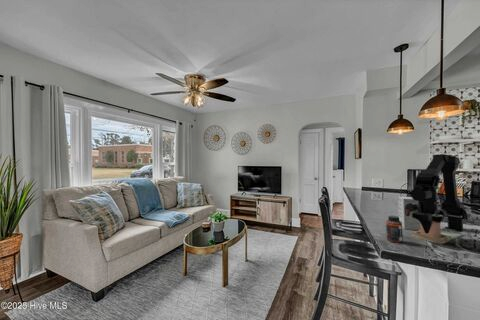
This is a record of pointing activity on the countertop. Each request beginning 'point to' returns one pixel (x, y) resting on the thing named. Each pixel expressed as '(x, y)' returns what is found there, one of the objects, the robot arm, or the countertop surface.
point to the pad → (451, 234)
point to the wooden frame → (437, 240)
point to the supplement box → (407, 214)
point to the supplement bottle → (394, 229)
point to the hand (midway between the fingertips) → (430, 232)
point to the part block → (432, 230)
